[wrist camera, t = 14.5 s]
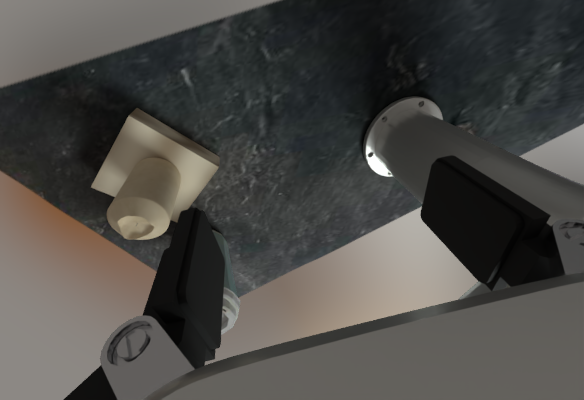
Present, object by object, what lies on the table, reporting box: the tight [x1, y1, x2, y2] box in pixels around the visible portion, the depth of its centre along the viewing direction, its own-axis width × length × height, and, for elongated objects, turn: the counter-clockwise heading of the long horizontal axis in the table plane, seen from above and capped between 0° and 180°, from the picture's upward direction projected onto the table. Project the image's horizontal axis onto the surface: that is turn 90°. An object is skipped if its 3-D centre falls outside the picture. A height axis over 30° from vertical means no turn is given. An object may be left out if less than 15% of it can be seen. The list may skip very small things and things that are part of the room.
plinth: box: [91, 108, 220, 222], centre depth 33 cm, size 11×11×3 cm
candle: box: [107, 157, 181, 240], centre depth 28 cm, size 6×6×10 cm
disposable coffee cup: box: [212, 230, 240, 335], centre depth 38 cm, size 11×11×15 cm
